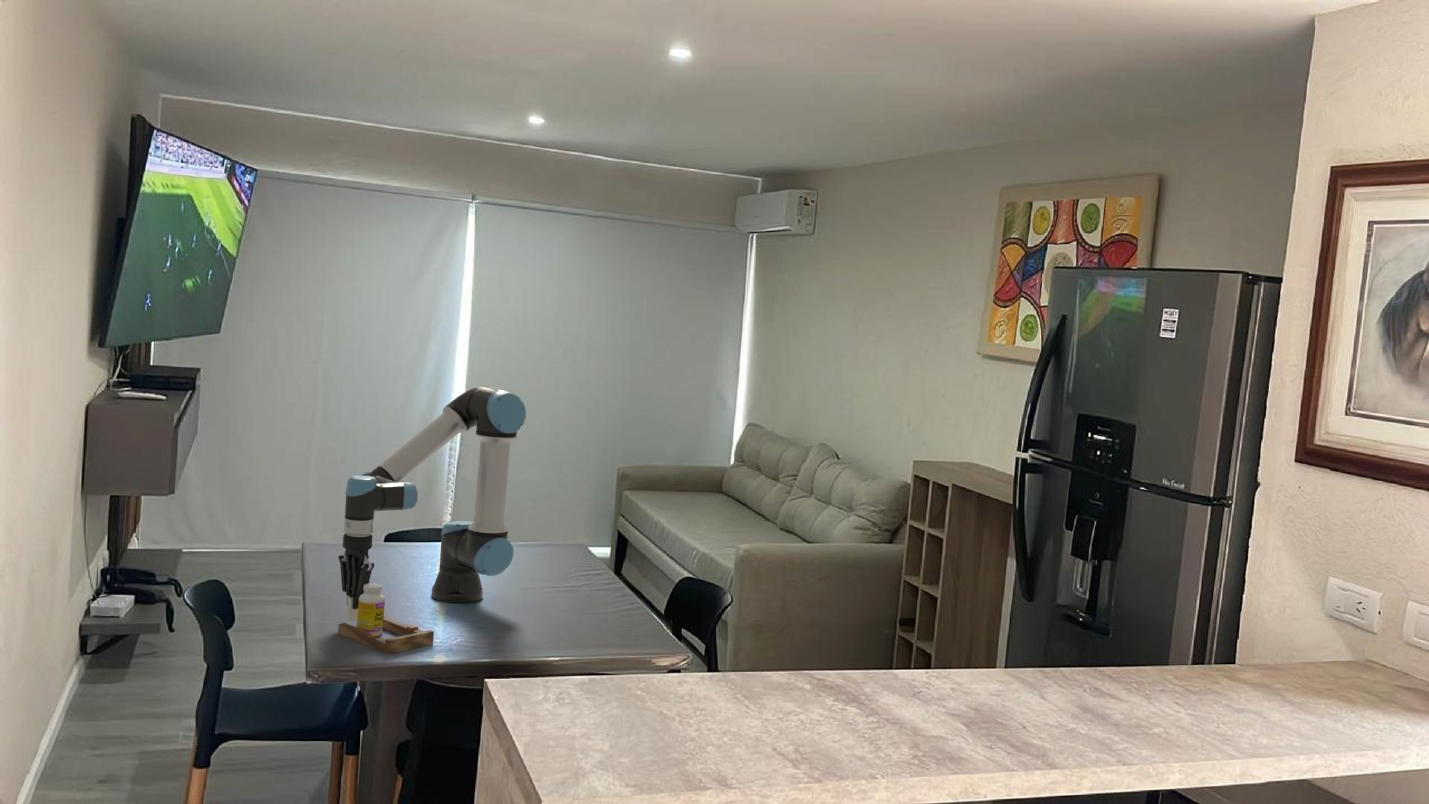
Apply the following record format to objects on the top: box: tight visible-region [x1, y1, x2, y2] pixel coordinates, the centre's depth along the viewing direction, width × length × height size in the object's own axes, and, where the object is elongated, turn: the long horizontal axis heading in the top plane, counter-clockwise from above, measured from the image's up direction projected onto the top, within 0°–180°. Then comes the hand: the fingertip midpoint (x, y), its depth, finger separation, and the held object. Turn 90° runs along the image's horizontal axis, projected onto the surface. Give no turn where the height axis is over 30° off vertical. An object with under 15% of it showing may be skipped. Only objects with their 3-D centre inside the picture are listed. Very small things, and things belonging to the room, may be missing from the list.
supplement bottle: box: [356, 582, 386, 635], centre depth 301 cm, size 7×7×13 cm
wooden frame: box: [337, 615, 435, 655], centre depth 298 cm, size 14×22×4 cm, turn 53°
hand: (352, 619), depth 306 cm, fingers closed
